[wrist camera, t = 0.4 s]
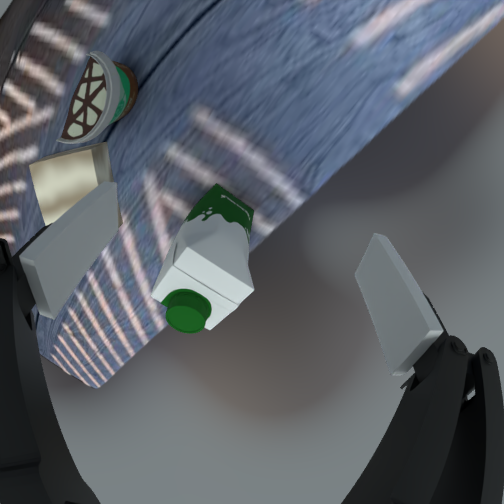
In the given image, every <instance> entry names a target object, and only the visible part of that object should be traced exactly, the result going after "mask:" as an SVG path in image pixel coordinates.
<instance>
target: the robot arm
mask: <svg viewBox="0 0 504 504" xmlns="http://www.w3.org/2000/svg"><path fill="white" fill-rule="evenodd" d="M117 232H118V211H117V183H114V182H107V181H104V182H103V183H101V184H100V185H99V186H97V187H96V188H95V189H93V190H92V191H91V192H89V193H88V194H87V195H86V196H84V197H83V198H82V199H81V200H79V201H78V202H77V203H76V204H75V205H73V206H72V207H71V208H70V209H69V210H67V211H66V212H65V213H64V214H63V215H62V216H60V217H59V218H58V219H57V220H56V221H55V222H54V223H51V224H49V225H47V226H45V227H43V228H42V229H41V230H39V231H38V232H37V233H36V234H35V236H33V237H32V238H31V239H30V241H28V242H27V243H26V244H25V245H24V246H23V247H22V248H21V249H20V250H19V251H18V252H17V253H16V254H15V255H14V256H13V257H12V256H11V253H10V250H9V246H8V243H7V241H6V240H5V239H2V238H0V503H1V504H100V502H99V500H98V499H97V497H96V495H95V494H94V492H93V491H92V490H91V488H90V487H89V486H88V485H87V484H86V483H85V482H84V480H83V479H82V477H81V476H80V474H79V472H78V469H77V467H76V465H75V463H74V461H73V459H72V456H71V454H70V452H69V449H68V447H67V445H66V442H65V440H64V437H63V434H62V432H61V429H60V426H59V424H58V421H57V418H56V415H55V412H54V409H53V406H52V402H51V399H50V395H49V392H48V388H47V384H46V380H45V376H44V372H43V368H42V363H41V358H40V353H39V348H38V342H37V336H36V329H35V322H34V315H33V313H32V310H31V309H32V308H33V306H34V305H35V304H36V305H37V308H38V310H39V313H40V314H41V315H43V316H46V317H48V318H51V319H53V320H55V318H56V316H57V315H58V313H59V312H60V310H61V309H62V307H63V305H64V304H65V302H66V301H67V299H68V298H69V296H70V295H71V293H72V292H73V291H74V289H75V288H76V286H77V285H78V283H79V282H80V280H81V279H82V278H83V276H84V275H85V273H86V272H87V271H88V269H89V268H90V267H91V265H92V264H93V263H94V261H95V260H96V259H97V257H98V256H99V255H100V253H101V252H102V251H103V249H104V248H105V247H106V246H107V244H108V243H109V242H110V241H111V239H112V238H113V237H114V236H115V234H116V233H117ZM355 278H356V280H357V282H358V285H359V287H360V290H361V292H362V295H363V298H364V300H365V303H366V305H367V308H368V311H369V313H370V316H371V319H372V321H373V324H374V327H375V330H376V333H377V335H378V338H379V341H380V344H381V347H382V350H383V353H384V356H385V359H386V362H387V365H388V368H389V372H390V375H405V374H406V373H407V372H408V371H409V370H410V369H411V367H412V366H413V367H414V370H415V373H414V374H413V375H412V376H411V377H410V378H409V379H408V380H407V381H406V382H405V383H404V384H403V385H402V386H401V387H400V388H401V389H403V388H404V387H405V386H407V387H406V390H405V392H404V394H403V397H402V399H401V401H400V404H399V406H398V408H397V410H396V412H395V415H394V417H393V419H392V421H391V423H390V425H389V427H388V429H387V431H386V433H385V435H384V437H383V438H382V440H381V442H380V444H379V446H378V448H377V449H376V451H375V453H374V455H373V456H372V458H371V460H370V461H369V463H368V465H367V466H366V468H365V470H364V471H363V473H362V474H361V476H360V478H359V479H358V480H357V482H356V483H355V485H354V486H353V488H352V489H351V491H350V492H349V493H348V495H347V496H346V498H345V499H344V500H343V502H342V503H341V504H502V496H503V489H504V406H503V397H502V390H501V383H500V377H499V371H498V366H497V362H496V359H495V357H494V354H493V353H492V352H491V351H490V350H488V349H487V348H485V347H482V348H480V349H479V350H478V351H477V352H476V353H475V354H472V353H469V352H468V350H467V348H466V346H465V345H464V343H463V342H462V341H461V340H460V339H459V338H457V337H455V336H451V335H450V336H449V335H448V333H447V331H446V329H445V327H444V325H443V323H442V322H441V320H440V318H439V316H438V314H436V311H435V309H434V308H433V305H432V304H431V302H430V300H429V298H428V297H427V296H426V295H425V294H424V293H423V292H422V291H421V289H420V288H419V286H418V284H417V283H416V281H415V279H414V278H413V276H412V274H411V273H410V271H409V270H408V268H407V267H406V265H405V263H404V262H403V260H402V259H401V257H400V256H399V254H398V253H397V252H396V250H395V249H394V247H393V245H392V244H391V243H390V241H389V240H388V238H387V237H386V236H384V235H380V234H376V233H374V234H373V237H372V239H371V241H370V243H369V245H368V248H367V250H366V252H365V254H364V256H363V258H362V260H361V262H360V264H359V266H358V268H357V270H356V273H355ZM474 389H475V395H474V396H473V397H472V398H471V399H470V400H468V399H467V395H469V394H470V393H471V392H472V391H473V390H474Z"/></svg>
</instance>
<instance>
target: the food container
mask: <svg viewBox="0 0 504 504" xmlns="http://www.w3.org/2000/svg"><path fill="white" fill-rule="evenodd" d="M86 55H89V56H90V59H89V60H88V63H87V66H86V68H85V71H84V73H83V75H82V77H81V80H80V82H79V84H78V86H77V88H76V90H75V92H74V95H73V97H72V100H71V104H70V108H69V112H68V116H67V120H66V123H65V126H64V130H63V133H62V137H60V138H59V139H57V140H56V141H59V142H62V143H67V144H75V143H83V142H87V141H89V140H92V139H93V138H95V137H96V136H98V135H99V134H100V133H101V132H103V130H104V129H105V128H106V127H107V126H108V125H110V124H112V123H114V122H116V121H118V120H120V119H121V118H123V117H124V116H125V115H127V114H128V113H129V112H130V110H131V109H132V108H133V106H134V104H135V102H136V99H137V95H138V83H137V79H136V77H135V75H134V73H133V71H132V70H131V69H130V68H128V67H127V66H126V65H123V64H121V63H118V62H115V61H112V60H111V59H110V58H109V57H108V56H106V55H105V54H104V53H102V52H100V51H93V52H90V54H86Z"/></svg>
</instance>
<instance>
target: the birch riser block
mask: <svg viewBox="0 0 504 504" xmlns="http://www.w3.org/2000/svg"><path fill="white" fill-rule="evenodd" d="M29 167H30V171H31V175H32V180H33V184H34V187H35V191H36V195H37V199H38V202H39V205H40V209H41V212H42V215H43V218H44V221H45V224H46V226H47V225H49V224H51V223H54V222H55V221H56V220H57V219H58V218H59V217H60V216H62V215H63V214H64V213H65V212H66V211H67V210H69V209H70V208H71V207H72V206H73V205H75V204H76V203H77V202H78V201H79V200H81V199H82V198H83V197H84V196H86V195H87V194H88V193H89V192H91V191H92V190H93V189H95V188H96V187H97V186H99V185H100V184H101V183H103V182H104V181H107V182H114V181H113V175H112V170H111V165H110V159H109V153H108V146H107V142H103V143H98V144H93V145H89V146H84V147H80V148H76V149H72V150H68V151H64V152H60V153H57V154H53V155H49V156H46V157H44V158H42V159H40V160H38V161H36V162H34V163H32V164H30V165H29ZM117 211H118V228H119V227H120V226H121V225H122V224H123V221H122V217H121V213H120V209H119V204H118V200H117Z"/></svg>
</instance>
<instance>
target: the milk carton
mask: <svg viewBox="0 0 504 504" xmlns="http://www.w3.org/2000/svg"><path fill="white" fill-rule="evenodd" d="M253 214H254V210H253V209H251V208H250V207H248V206H247V205H246V204H244V203H243V202H242V201H240V200H239V199H238V198H236V197H235V196H233V195H232V194H231V193H229V192H228V191H227V190H225V189H224V188H222V187H221V186H220V185H218V184H217V183H216V184H215V185H214V186H213V187H212V188H211V189H210V190H209V191H208V192H207V193H206V195H205V196H204V197H203V198H202V199H201V200H200V201H199V202H198V203H197V204H196V205H195V207H194V208H193V209H192V210H191V212H190V213H189V215H188V216H187V217H186V219H185V221H184V222H183V224H182V226H181V228H180V230H179V232H178V234H177V236H176V238H175V240H174V242H173V244H172V246H171V248H170V250H169V252H168V254H167V256H166V259H165V261H164V264H163V266H162V269H161V271H160V273H159V275H158V278H157V280H156V283H155V285H154V288H153V291H152V293H151V297H152V298H154V299H156V300H158V301H160V302H161V304H163V305H164V306H166V307H168V308H167V311H166V320H167V322H168V324H169V325H170V326H171V327H173V328H174V329H176V330H178V331H180V332H183V333H197V332H200V331H201V330H202V329H203V328H204V327H205V328H207V329H209V330H211V329H212V328H213V327H214V326H216V325H217V324H218V323H219V322H220V321H221V320H222V319H224V318H225V317H226V316H227V315H228V314H230V313H231V312H232V311H234V310H235V309H236V308H237V307H238V306H239V304H240V303H241V302H242V301H243V300H244V299H245V298H246V297H247V296H248V295H249V294H251V293H252V292H253V291H254V286H253V283H252V279H251V275H250V271H249V268H248V254H249V240H250V231H251V225H252V220H253Z"/></svg>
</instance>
